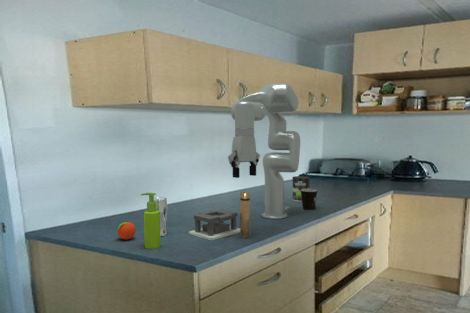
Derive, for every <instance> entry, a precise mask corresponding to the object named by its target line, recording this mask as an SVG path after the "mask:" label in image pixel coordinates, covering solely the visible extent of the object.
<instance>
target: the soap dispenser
mask: <svg viewBox="0 0 470 313" xmlns="http://www.w3.org/2000/svg"><path fill="white" fill-rule="evenodd" d="M140 196H148V201H147V202H146V210H144V211H143V232H144V234H143V236H144V237H143V238H144V242H143V243H144V248H145V249H148V250H152V249H158V248H161V244H162V242H161V237H160V211H158V210H156V202H155V201H154V198H155V196H157V193H155V192H144V193H141V194H140Z"/></svg>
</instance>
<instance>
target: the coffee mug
mask: <svg viewBox="0 0 470 313" xmlns="http://www.w3.org/2000/svg"><path fill="white" fill-rule="evenodd" d="M317 194H318V190H317V189H311V188H310V189H303V190H301V196H302V202H301V204H302V210H305V211H314V210H316V204H317V203H316V202H317V196H318V195H317Z"/></svg>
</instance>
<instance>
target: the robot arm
mask: <svg viewBox="0 0 470 313" xmlns="http://www.w3.org/2000/svg"><path fill="white" fill-rule="evenodd" d="M297 95H298V94H296V92H295V90H294V88H293V87H292V86H291V85H290V84H289V83H287V82H283V83H282V82H281V83H279V82H277V83H268V84H264V86H262V87H261V88H260V89H259V90H258V91H257V92H255V93H251V94H249V95H246V96H244V97H241V98H239V99H237V101H235V102H234V103H233V104H232V106H231V110H230V114H231V117H232V120H234V137H233V139H232V144H231V154H229V155H228V156H227V158H228V159H227V160H228V162H229V164H230V167H231V168H232V178H233V179H234V178H235V179H238V178H240V165H241V163H249V164H250V165H249V169H248V170H249V176H252V177H254V176H255V177H256V176H257V166H258V163H259V161H260V157H261V154H259V152H257V144H256V139H255V122H259V121H262V120H263V119H264V118H265V117H266V116H267V117H268V121H269V127H268V137H267V147H268V148H269V149H270V150H273V151H274V152H267V153H265V154H264V155H263V158H262V167H263V173H264V212H262V213H261V217H263V218H265V219H270V220H282V219H285V218H287V217H288V213H287V212H286V211H289V210H290V207H289V206H285V180H284V178H283V175H282V174H281V173H296V172H297V171H298V170H299V166H300V165H299V163H300V154H301V153H300V152H301V136H300V133H299V132H297V131H294V130H287V124H288V123H287V120H286V119H285V117H284V115H283V114H281V113H287V112H289V113H291V112H296V110H298V108H299V99H298V96H297ZM275 151H276V152H275ZM278 151H288V152H278Z"/></svg>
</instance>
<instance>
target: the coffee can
mask: <svg viewBox="0 0 470 313" xmlns="http://www.w3.org/2000/svg"><path fill="white" fill-rule="evenodd" d="M310 179H311V177H310V176H304V175H297V176H295V175H294V176H292V199H291V200H292V201H294V202H298V203H299V202H300V203H302V196H301V190H303V189H311V188H310Z"/></svg>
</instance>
